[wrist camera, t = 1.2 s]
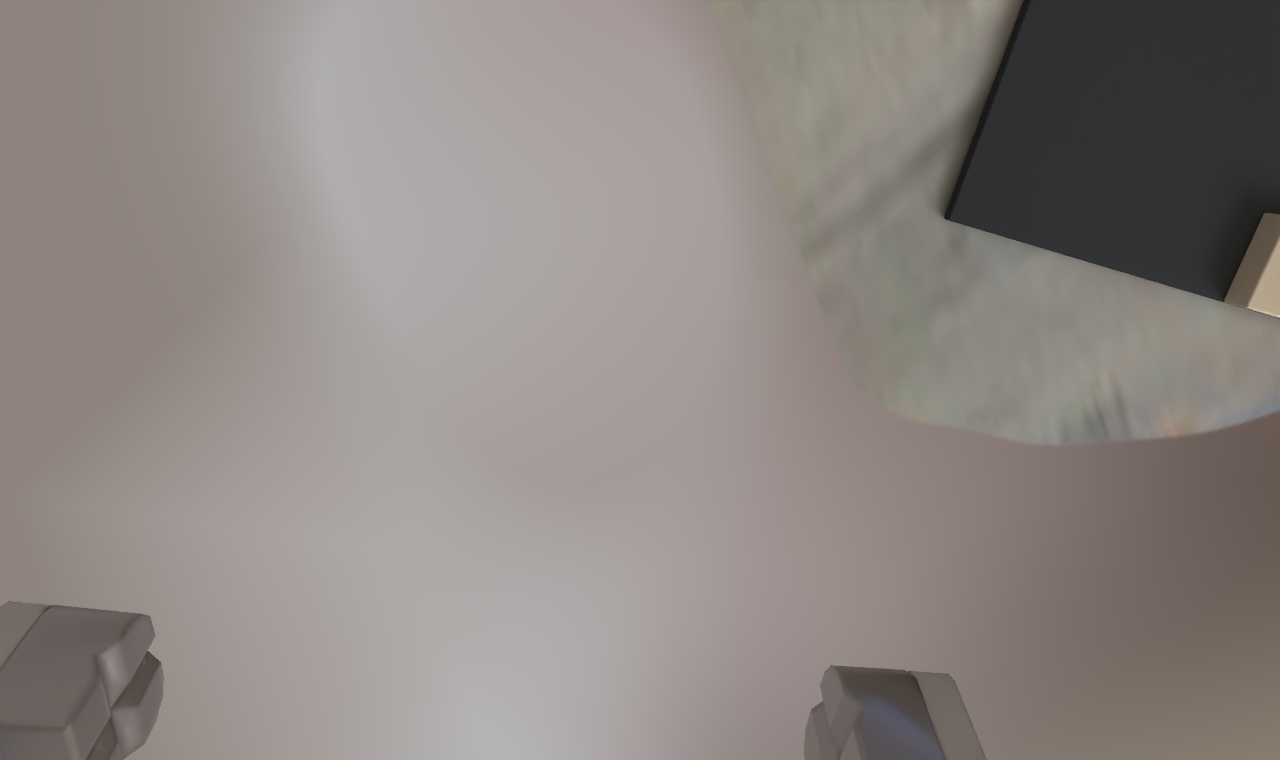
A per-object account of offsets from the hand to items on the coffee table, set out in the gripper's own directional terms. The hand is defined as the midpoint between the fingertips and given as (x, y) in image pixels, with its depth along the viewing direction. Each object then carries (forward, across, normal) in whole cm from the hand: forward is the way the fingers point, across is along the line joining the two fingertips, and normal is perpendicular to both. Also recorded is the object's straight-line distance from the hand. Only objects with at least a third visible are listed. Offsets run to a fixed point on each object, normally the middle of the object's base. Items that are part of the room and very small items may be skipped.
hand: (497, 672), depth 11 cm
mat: (+30, -25, -3) cm, 39 cm away
